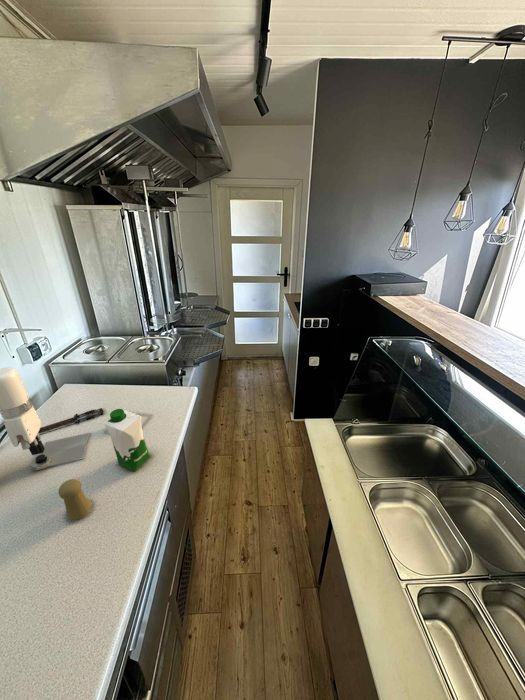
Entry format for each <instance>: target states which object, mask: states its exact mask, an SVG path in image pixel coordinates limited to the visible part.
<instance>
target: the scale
mask: <svg viewBox="0 0 525 700" xmlns="http://www.w3.org/2000/svg"><path fill="white" fill-rule="evenodd" d="M89 437H90V433H89V432H88V433H83V434H79V435H74V436H69V437H65V438H60V439H56V440H51V441H46V442H45V444H44V445H43V446H44V448H45V450H44V452H43V453H41V454H44V455H45V457H46V460H45V461H44V462H42V463H39V464H38V463H37V462H36V460H35V458H34V459H32V460H31V463H30V465H31V468H32V469H33V470H34V471H40V470H43V469H47V468H52V467H57V466H61V465H65V464H69V463H73V462H77V461H82V460H83V459H84V456H85V452H86V449H87V445H88V441H89ZM41 454H40V455H41Z"/></svg>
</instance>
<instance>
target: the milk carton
mask: <svg viewBox="0 0 525 700" xmlns="http://www.w3.org/2000/svg"><path fill="white" fill-rule="evenodd" d="M109 418H110V419H109V420H107V421H106V422H104V427H105V428H106V431H107V432H108V435H109V436H110V440H111V443H112V446H113V449H114V452H115V455H116V460H117V462H118V465H119V466H121V467H123V468H125V469H128V470H129V471H131V472H137V470H139V468H141V467H142V466H143V465H144V464H145V463H146V462H147V461H149V459H150V458H151V455H150V453H149V449H148V447H147V444H146V440H145V435H144V431H143V427H142V415H139V414H137V413H135V412H133V411H129V410H127V409H126V410H125V409H122V408H116V409H114V410H112V411H111V412H110V413H109Z"/></svg>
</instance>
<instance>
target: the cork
mask: <svg viewBox="0 0 525 700" xmlns="http://www.w3.org/2000/svg"><path fill="white" fill-rule="evenodd" d="M82 486H83V485H82V483H81V481H80V480H79V479H76V478H71V479H67V480H66V481H64V482H63V483H61V485H60V486H59V488H58V496H59V497H60V498H61V499H62V500H63V502H64V508H65V511H66V516H67V518H68V520H69V521H71V522H75V521H76V522H77V521H80V520H82V519H84V518H85V517H87V515H89V513H90V512H91V511H92V508H93V506H92V505H93V504H92V503H91V501H90V500H89V498H88V497H87V495H86V494H85V493H84V491H83V490H82Z"/></svg>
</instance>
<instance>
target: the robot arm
mask: <svg viewBox="0 0 525 700" xmlns="http://www.w3.org/2000/svg"><path fill="white" fill-rule="evenodd" d="M0 415H1V418H2V419H3V424H4V427H5V430H6V433H7V435H8V438H9V440H10V442H11V444H12V445H13V447H14V448H16V447H19V446H20V445H21V448H22V451H26V450H29V452H30V454H31V455H32V456H36V455H41V453H43V452H44V450H45V448H44V446H45V445H44V444H43V441H42V440H41V434H40V435H39V429H40V428H41V427H42V421H41V418H40V417H39V416H40V415H38V412H37V411H36V408H35V407H34V404H33V402H32V400H31V398H30V395H29V393H28V391H27V389H26V387H25V385H24V383H23V380H22V378H21V376H20V374H19V372H18V370H16V369H15V368H13V367H0ZM19 444H20V445H19Z"/></svg>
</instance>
